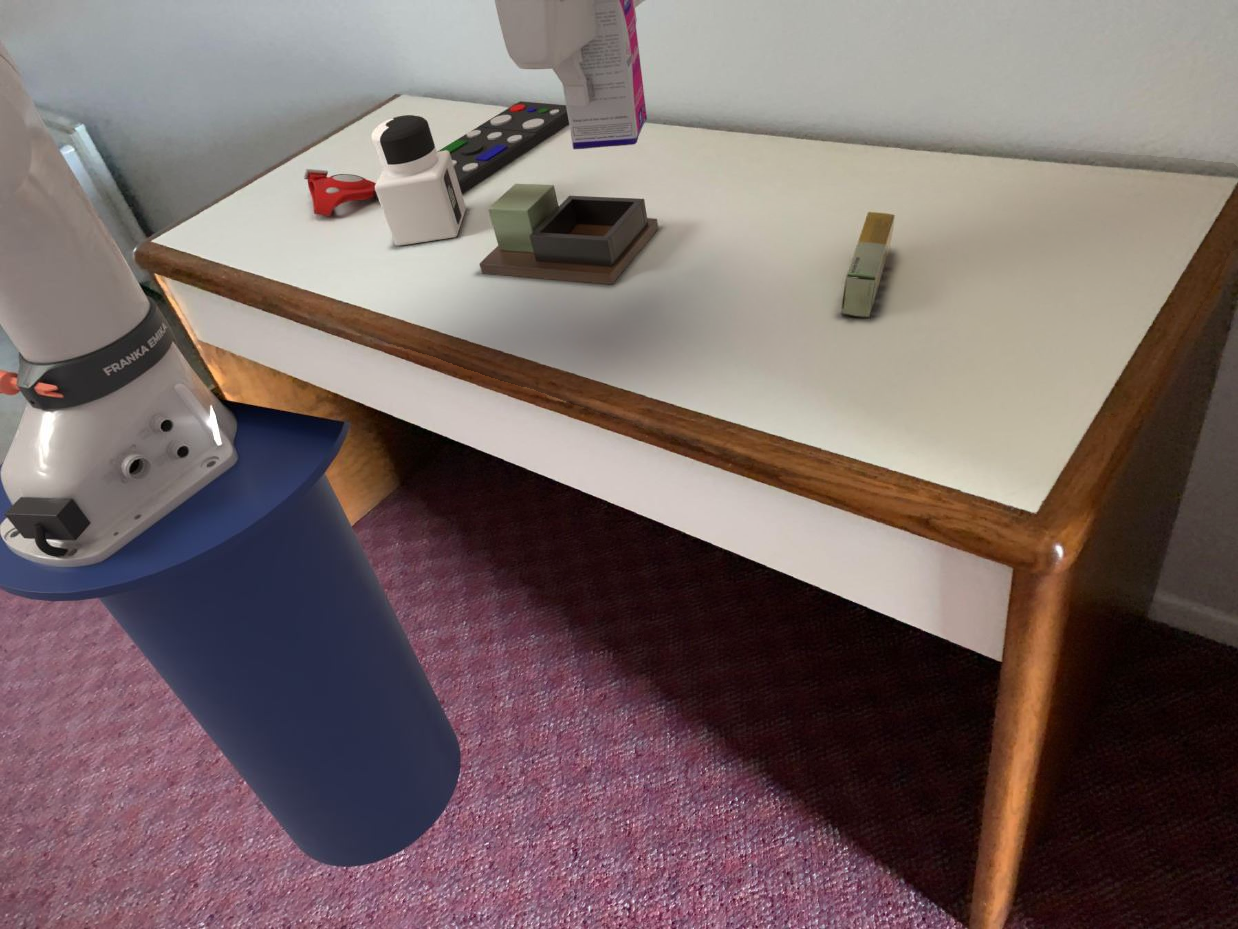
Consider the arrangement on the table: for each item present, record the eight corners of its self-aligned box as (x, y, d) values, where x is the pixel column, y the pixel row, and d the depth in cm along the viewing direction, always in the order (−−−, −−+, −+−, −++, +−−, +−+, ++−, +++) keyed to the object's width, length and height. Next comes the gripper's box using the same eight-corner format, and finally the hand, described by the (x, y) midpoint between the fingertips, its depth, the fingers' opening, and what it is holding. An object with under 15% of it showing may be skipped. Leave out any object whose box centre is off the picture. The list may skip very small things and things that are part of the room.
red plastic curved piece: (391, 175, 125) (354, 190, 116) (391, 207, 127) (355, 225, 119) (309, 159, 127) (267, 173, 118) (311, 192, 129) (270, 208, 121)
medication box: (871, 319, 82) (876, 280, 79) (840, 315, 83) (844, 276, 80) (890, 249, 90) (895, 211, 87) (862, 246, 91) (866, 208, 88)
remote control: (580, 116, 133) (577, 102, 132) (435, 211, 116) (430, 196, 115) (522, 110, 139) (519, 97, 138) (376, 200, 122) (371, 186, 121)
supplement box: (639, 144, 78) (617, -2, 70) (572, 150, 79) (543, 7, 72) (650, 118, 82) (631, -23, 75) (586, 124, 83) (561, -14, 76)
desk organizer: (612, 284, 94) (600, 228, 90) (482, 273, 101) (466, 221, 97) (658, 228, 102) (650, 174, 98) (534, 221, 109) (522, 171, 105)
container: (467, 209, 115) (436, 104, 107) (457, 237, 109) (424, 129, 101) (407, 218, 116) (372, 115, 108) (394, 247, 110) (356, 140, 102)
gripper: (596, -129, 77) (623, 44, 86) (463, -63, 64) (510, 133, 73) (665, -137, 74) (685, 43, 83) (541, -70, 61) (580, 135, 70)
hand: (603, 86), depth 78 cm, fingers closed on supplement box, 6 cm apart
